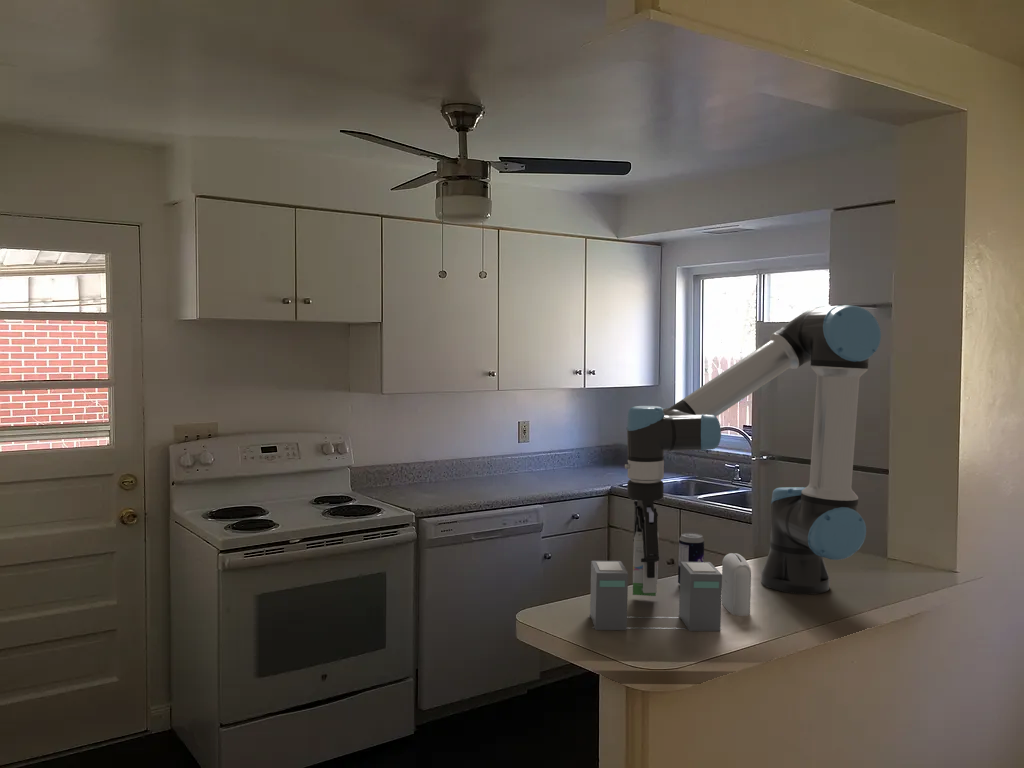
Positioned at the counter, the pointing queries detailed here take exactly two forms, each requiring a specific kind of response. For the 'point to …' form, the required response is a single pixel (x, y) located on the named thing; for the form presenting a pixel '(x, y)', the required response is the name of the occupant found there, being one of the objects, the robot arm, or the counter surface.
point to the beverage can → (690, 549)
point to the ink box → (639, 566)
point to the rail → (652, 628)
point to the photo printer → (736, 584)
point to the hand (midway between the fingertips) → (645, 585)
